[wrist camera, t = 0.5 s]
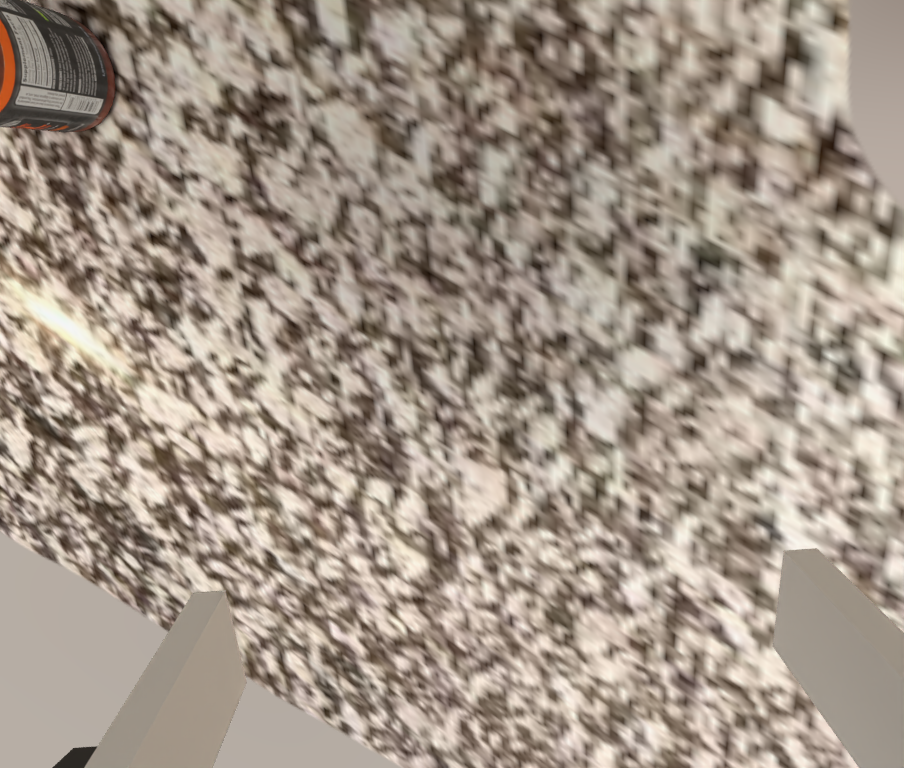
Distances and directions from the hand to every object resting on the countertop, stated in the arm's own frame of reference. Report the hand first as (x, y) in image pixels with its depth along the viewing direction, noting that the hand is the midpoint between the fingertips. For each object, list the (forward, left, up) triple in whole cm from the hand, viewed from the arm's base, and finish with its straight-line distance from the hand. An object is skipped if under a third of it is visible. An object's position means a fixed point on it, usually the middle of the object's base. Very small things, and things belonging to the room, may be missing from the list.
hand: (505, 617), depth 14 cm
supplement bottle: (+6, -29, -23) cm, 38 cm away
